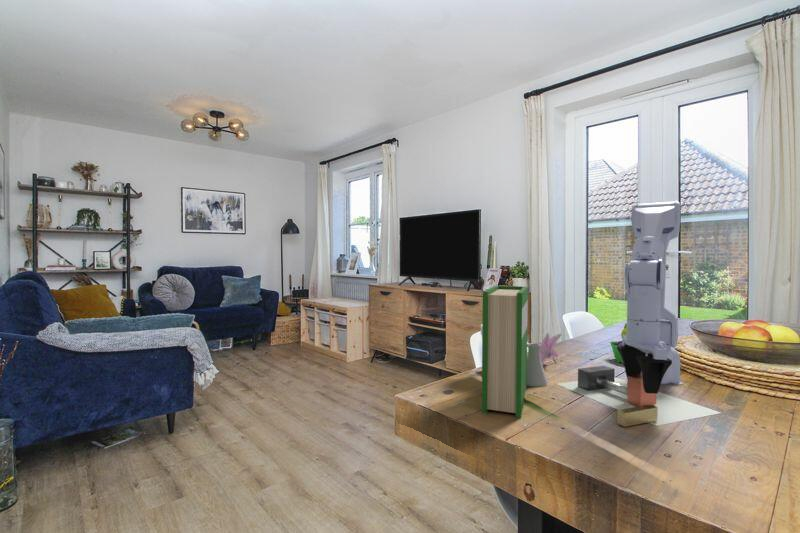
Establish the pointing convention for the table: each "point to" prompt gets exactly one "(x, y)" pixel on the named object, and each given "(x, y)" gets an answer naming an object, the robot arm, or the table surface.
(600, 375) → the eye bracket
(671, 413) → the board
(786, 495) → the table surface
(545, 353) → the lily
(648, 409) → the keeper bar
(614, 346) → the fruit basket
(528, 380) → the flask
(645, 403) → the mallet
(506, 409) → the hardback book
